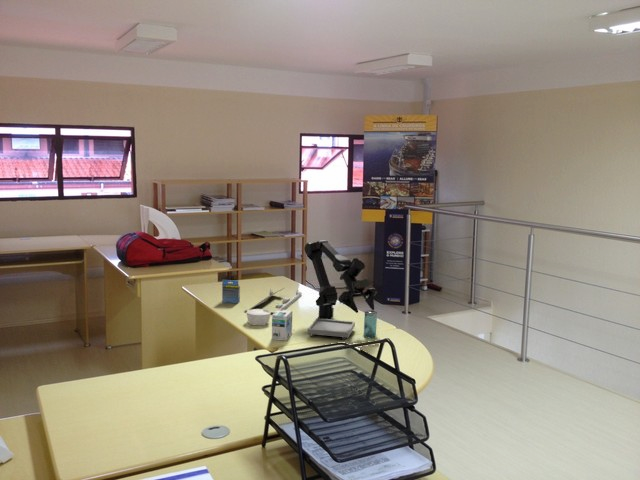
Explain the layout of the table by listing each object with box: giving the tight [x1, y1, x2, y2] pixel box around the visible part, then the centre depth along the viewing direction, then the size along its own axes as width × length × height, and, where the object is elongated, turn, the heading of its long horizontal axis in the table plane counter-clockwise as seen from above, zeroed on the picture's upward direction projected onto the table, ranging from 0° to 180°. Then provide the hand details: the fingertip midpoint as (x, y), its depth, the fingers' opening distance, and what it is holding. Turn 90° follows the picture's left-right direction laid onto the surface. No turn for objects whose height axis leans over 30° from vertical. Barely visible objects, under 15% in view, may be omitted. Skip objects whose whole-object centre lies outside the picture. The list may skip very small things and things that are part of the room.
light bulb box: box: [271, 308, 293, 341], centre depth 261 cm, size 11×7×11 cm, turn 168°
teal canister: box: [363, 309, 378, 339], centre depth 266 cm, size 6×6×11 cm
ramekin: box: [246, 308, 272, 326], centre depth 281 cm, size 11×11×5 cm
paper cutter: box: [249, 287, 303, 314], centre depth 317 cm, size 18×45×6 cm, turn 166°
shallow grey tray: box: [307, 317, 356, 341], centre depth 268 cm, size 18×18×4 cm
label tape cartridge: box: [221, 279, 241, 304], centre depth 317 cm, size 9×4×12 cm, turn 84°
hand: (365, 311), depth 268 cm, fingers open, 9 cm apart
